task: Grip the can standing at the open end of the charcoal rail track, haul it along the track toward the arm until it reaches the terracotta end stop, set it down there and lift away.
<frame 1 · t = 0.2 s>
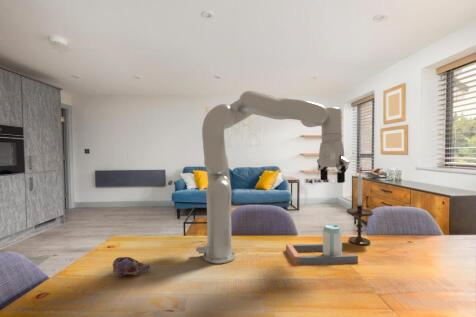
hand: (332, 181, 100), 30 cm above the table, tool pointing down, fingers open, 9 cm apart
track: (319, 256, 99), on the table
skull: (131, 275, 85), on the table
can: (332, 256, 99), resting in track
candlestick: (359, 242, 114), on the table
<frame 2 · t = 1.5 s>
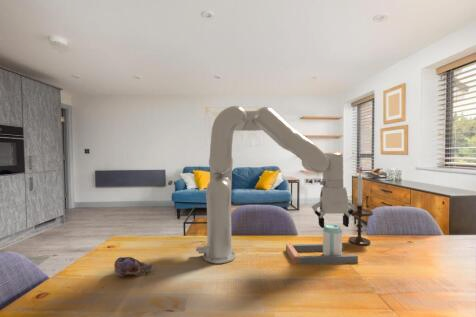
hand: (333, 226, 99), 12 cm above the table, tool pointing down, fingers open, 9 cm apart
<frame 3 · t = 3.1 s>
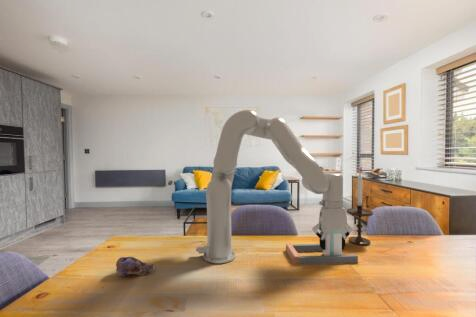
hand: (332, 248, 99), 3 cm above the table, tool pointing down, fingers closed on can, 7 cm apart
can: (332, 256, 99), resting in track, touching gripper
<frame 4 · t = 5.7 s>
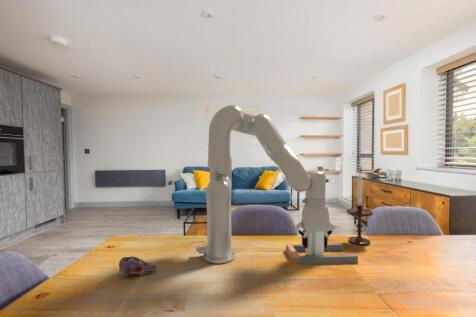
hand: (314, 246, 99), 4 cm above the table, tool pointing down, fingers closed on can, 7 cm apart
can: (314, 254, 99), point 1 cm above the table, touching gripper
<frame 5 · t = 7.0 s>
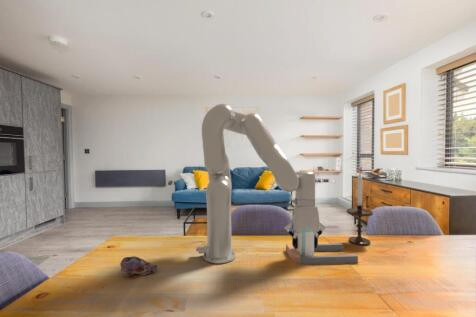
hand: (304, 246, 98), 4 cm above the table, tool pointing down, fingers closed on can, 7 cm apart
can: (304, 255, 99), point 1 cm above the table, touching gripper
when the fingers open (4 cm above the table, at t = 8.1 s): can stays where it is, resting in track.
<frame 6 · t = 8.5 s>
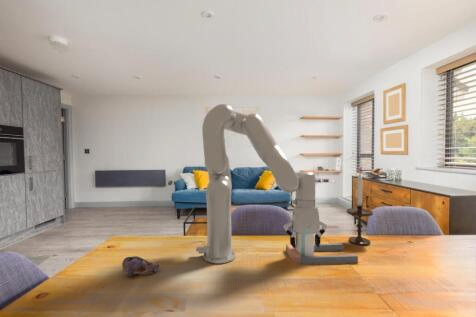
hand: (305, 246, 98), 4 cm above the table, tool pointing down, fingers open, 9 cm apart
can: (304, 257, 99), resting in track
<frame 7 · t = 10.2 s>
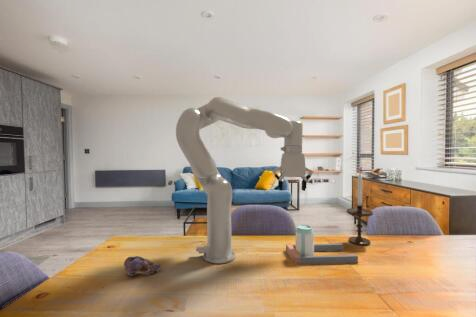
hand: (292, 190, 106), 25 cm above the table, tool pointing down, fingers open, 9 cm apart
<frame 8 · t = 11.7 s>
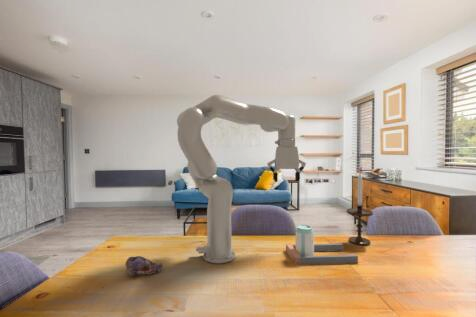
hand: (286, 181, 111), 28 cm above the table, tool pointing down, fingers open, 9 cm apart
at the end: can 0.2 cm from the target spot, resting in track; can tilted 0°; the gripper is holding nothing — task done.
